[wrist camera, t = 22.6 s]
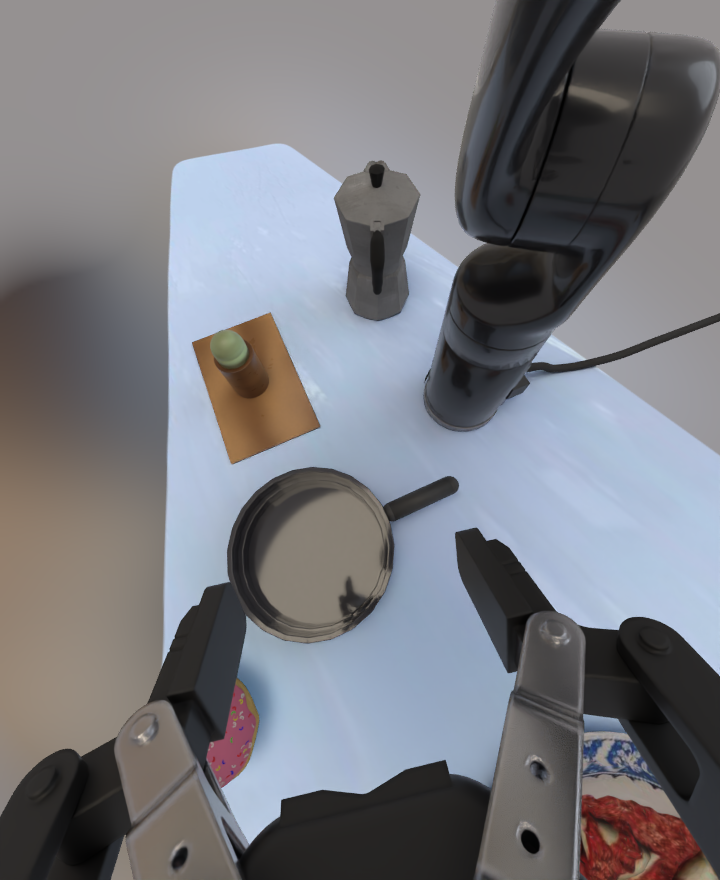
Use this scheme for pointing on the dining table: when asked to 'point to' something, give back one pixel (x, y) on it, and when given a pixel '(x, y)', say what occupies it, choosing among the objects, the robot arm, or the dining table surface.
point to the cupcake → (235, 737)
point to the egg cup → (239, 364)
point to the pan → (310, 555)
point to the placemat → (264, 416)
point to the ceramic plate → (631, 819)
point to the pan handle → (421, 498)
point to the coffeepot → (377, 238)
